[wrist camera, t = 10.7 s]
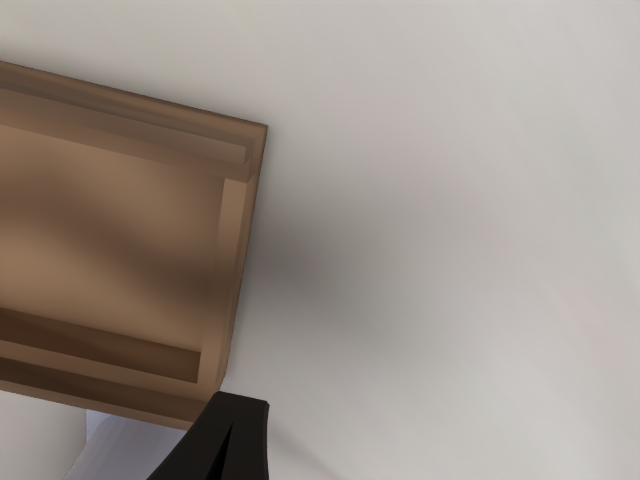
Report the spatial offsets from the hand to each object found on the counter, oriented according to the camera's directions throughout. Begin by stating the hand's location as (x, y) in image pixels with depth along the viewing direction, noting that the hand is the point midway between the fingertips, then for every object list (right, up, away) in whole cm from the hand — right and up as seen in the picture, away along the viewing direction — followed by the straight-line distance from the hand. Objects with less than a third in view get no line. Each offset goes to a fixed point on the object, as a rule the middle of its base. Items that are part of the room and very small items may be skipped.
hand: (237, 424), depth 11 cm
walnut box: (-8, +5, +9) cm, 13 cm away
